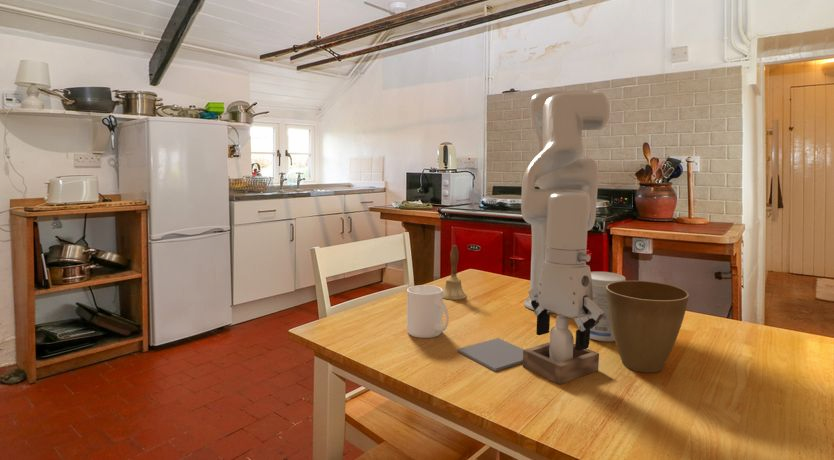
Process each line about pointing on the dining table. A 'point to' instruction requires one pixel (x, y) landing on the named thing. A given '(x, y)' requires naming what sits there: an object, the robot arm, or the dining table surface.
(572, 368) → the box
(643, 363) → the plant pot
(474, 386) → the dining table surface
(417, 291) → the mug
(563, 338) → the eye dropper bottle
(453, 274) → the hand bell
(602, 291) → the supplement tub
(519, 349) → the coaster
